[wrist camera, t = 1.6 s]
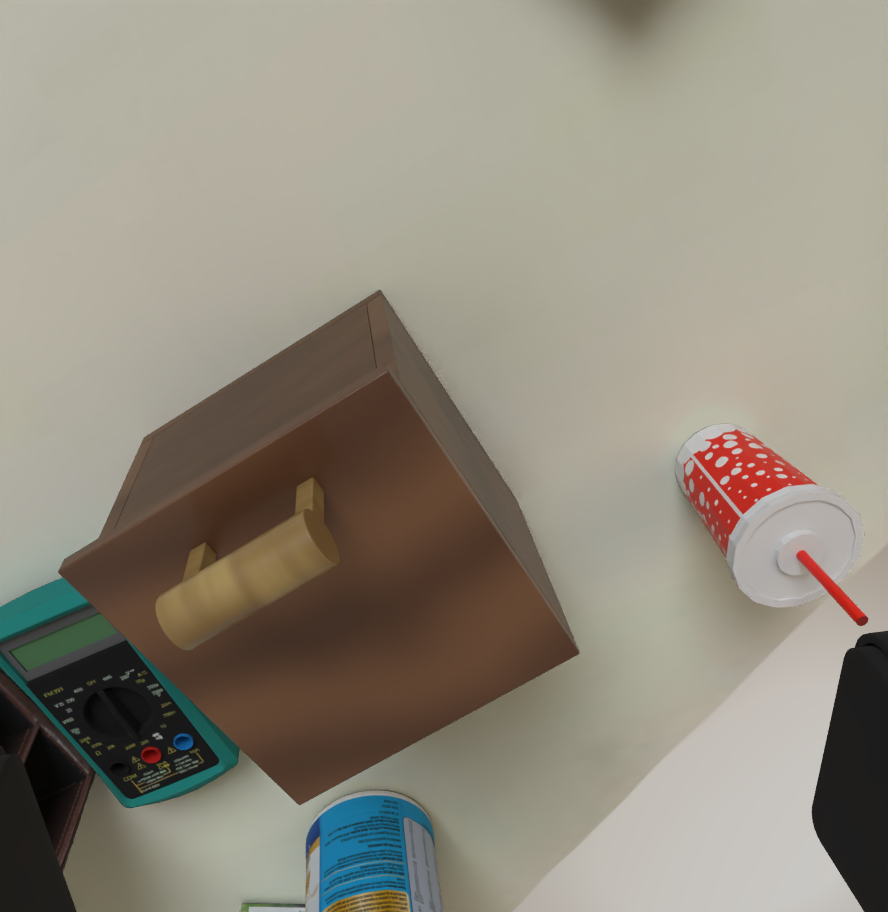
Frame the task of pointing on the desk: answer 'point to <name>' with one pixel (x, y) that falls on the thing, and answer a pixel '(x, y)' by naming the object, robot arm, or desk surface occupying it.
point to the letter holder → (46, 764)
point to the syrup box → (272, 908)
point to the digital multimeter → (109, 698)
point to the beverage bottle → (372, 856)
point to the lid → (327, 591)
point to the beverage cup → (770, 519)
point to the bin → (302, 387)
